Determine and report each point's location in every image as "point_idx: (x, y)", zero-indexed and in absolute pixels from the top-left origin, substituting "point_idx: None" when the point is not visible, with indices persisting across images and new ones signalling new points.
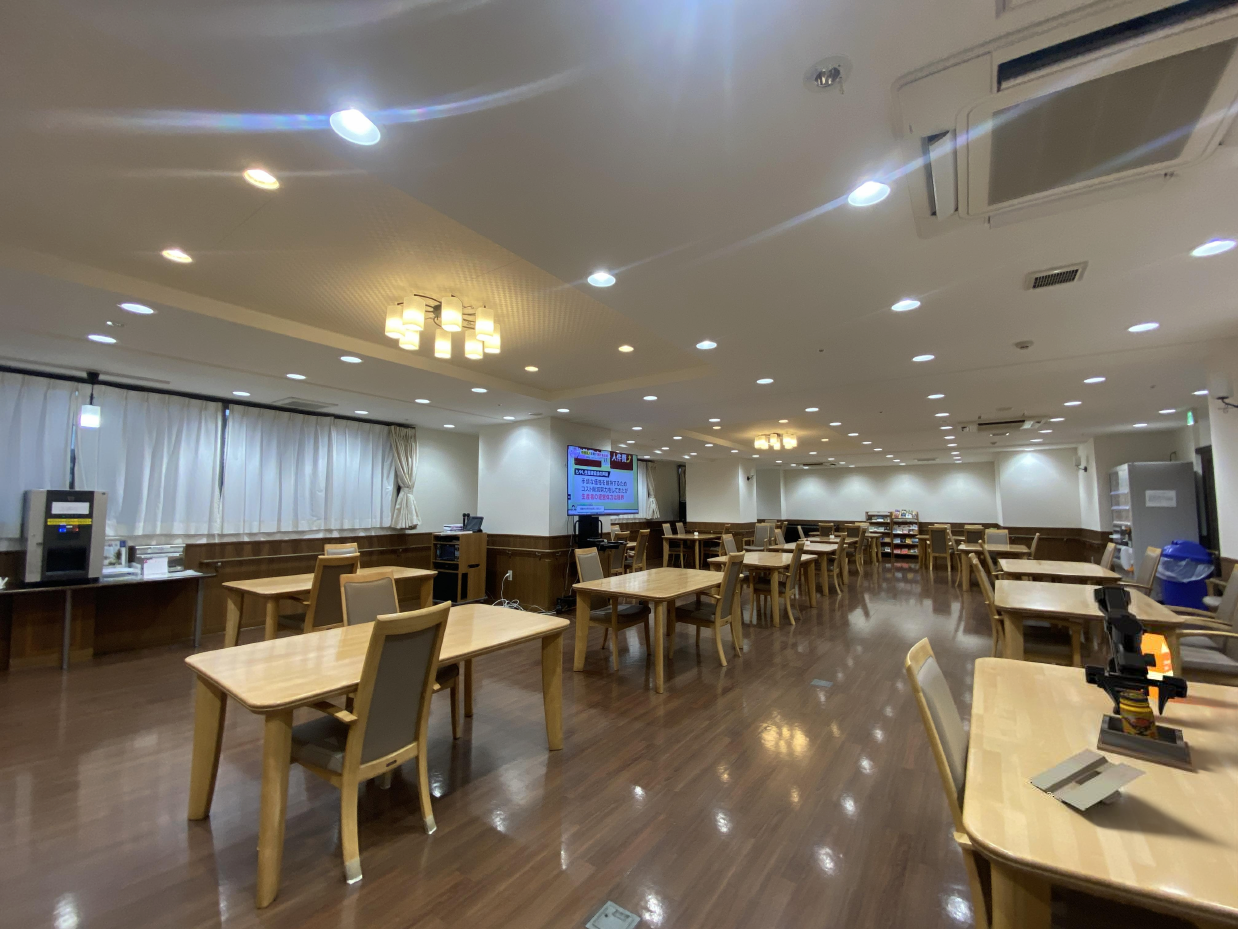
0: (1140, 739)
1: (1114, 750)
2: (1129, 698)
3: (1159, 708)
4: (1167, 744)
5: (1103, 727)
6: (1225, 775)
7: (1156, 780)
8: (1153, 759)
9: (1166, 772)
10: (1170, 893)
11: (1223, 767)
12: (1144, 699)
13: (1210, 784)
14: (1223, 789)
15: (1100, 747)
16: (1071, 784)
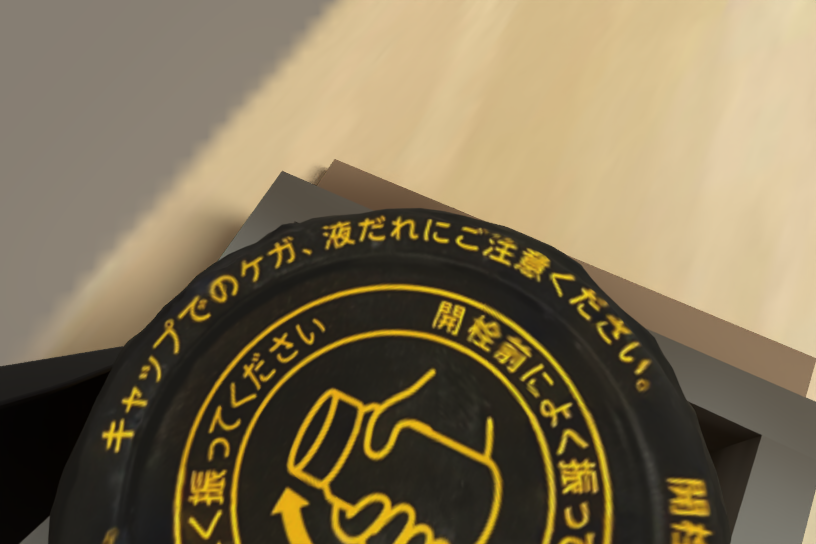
0: None
1: (700, 311)
2: (585, 272)
3: (83, 370)
4: (367, 210)
5: (786, 485)
6: (177, 198)
7: (602, 17)
8: None
9: (493, 128)
10: None
11: (80, 320)
12: (288, 227)
13: (352, 62)
14: (330, 31)
15: (788, 349)
16: None
